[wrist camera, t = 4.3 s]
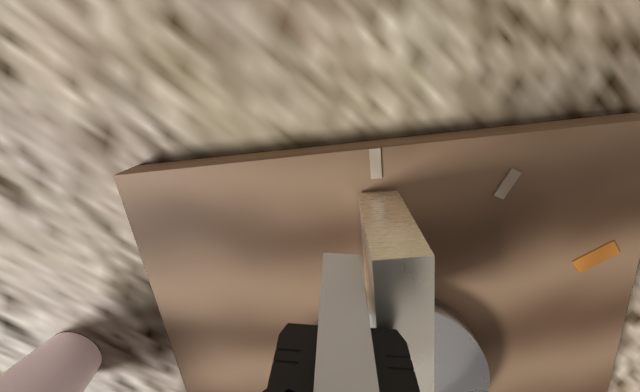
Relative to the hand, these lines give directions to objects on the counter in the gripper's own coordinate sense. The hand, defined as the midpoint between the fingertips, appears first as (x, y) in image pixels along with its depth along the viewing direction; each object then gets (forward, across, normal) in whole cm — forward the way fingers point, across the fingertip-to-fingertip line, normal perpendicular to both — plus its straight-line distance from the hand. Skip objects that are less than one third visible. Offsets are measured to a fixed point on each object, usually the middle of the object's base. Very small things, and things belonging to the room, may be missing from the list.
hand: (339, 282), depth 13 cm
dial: (+3, +3, -4) cm, 6 cm away
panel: (+5, +3, -5) cm, 8 cm away
